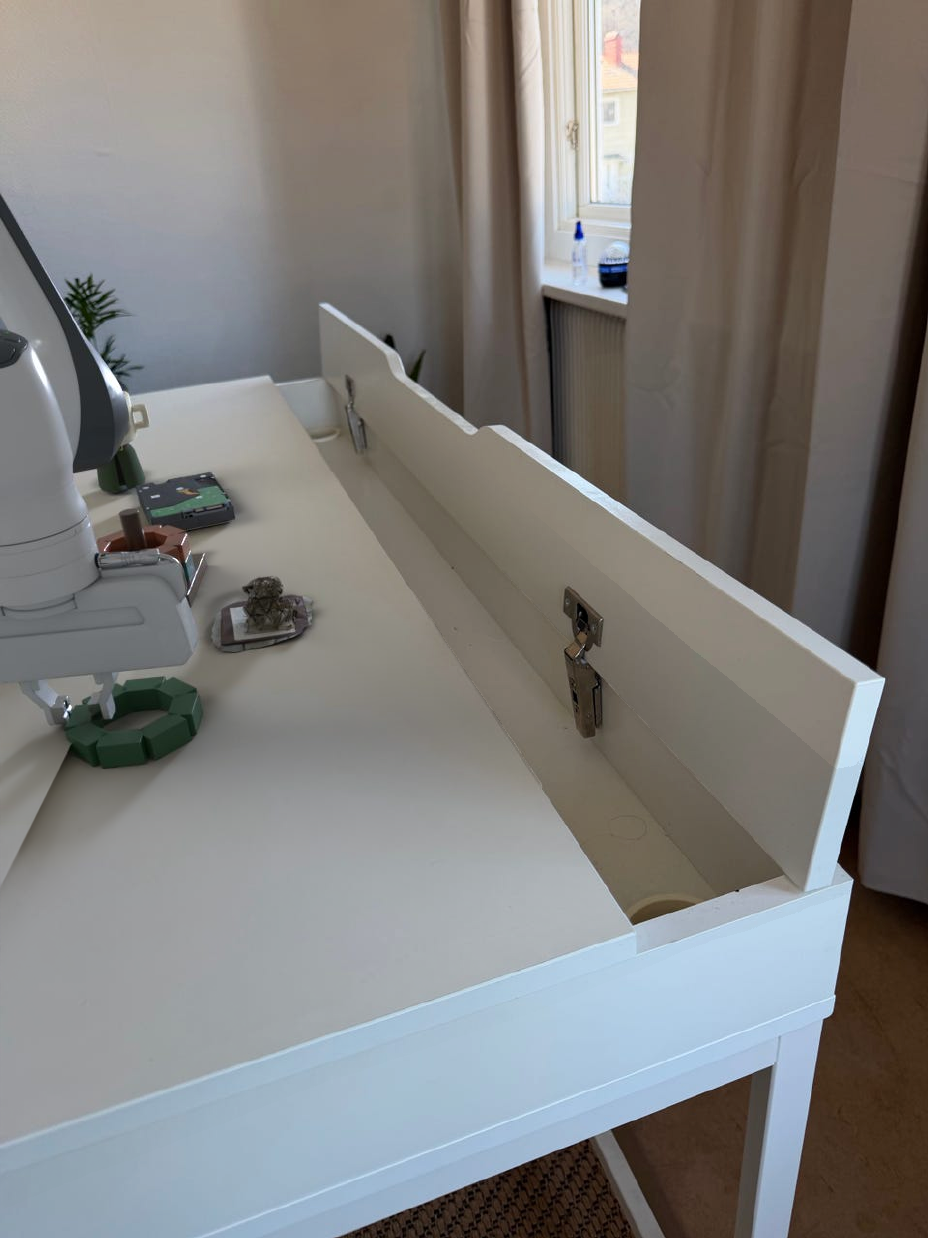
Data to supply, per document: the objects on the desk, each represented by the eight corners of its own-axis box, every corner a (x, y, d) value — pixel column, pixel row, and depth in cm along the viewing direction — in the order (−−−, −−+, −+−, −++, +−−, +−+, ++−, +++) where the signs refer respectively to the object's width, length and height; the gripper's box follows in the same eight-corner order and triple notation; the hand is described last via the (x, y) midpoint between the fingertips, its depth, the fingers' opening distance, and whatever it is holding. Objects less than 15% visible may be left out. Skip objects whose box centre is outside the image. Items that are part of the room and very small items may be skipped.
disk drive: (138, 505, 127) (154, 539, 114) (133, 485, 126) (149, 517, 113) (215, 489, 130) (238, 521, 118) (211, 470, 129) (234, 499, 117)
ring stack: (82, 618, 96) (58, 536, 92) (108, 574, 106) (88, 498, 102) (191, 607, 96) (172, 525, 92) (207, 565, 106) (191, 489, 102)
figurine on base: (275, 573, 100) (330, 557, 92) (292, 632, 100) (347, 622, 92) (170, 599, 92) (219, 585, 84) (188, 663, 93) (239, 655, 84)
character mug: (83, 502, 129) (58, 408, 123) (83, 487, 135) (59, 397, 129) (165, 488, 132) (144, 396, 126) (161, 474, 138) (141, 385, 132)
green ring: (57, 773, 72) (50, 751, 71) (91, 704, 81) (85, 683, 80) (190, 759, 72) (184, 737, 71) (209, 691, 81) (205, 671, 80)
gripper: (185, 530, 73) (219, 684, 79) (-87, 556, 71) (-31, 710, 78) (170, 563, 67) (207, 726, 73) (-125, 592, 66) (-62, 754, 72)
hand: (82, 718), depth 75 cm, fingers closed on green ring, 2 cm apart
